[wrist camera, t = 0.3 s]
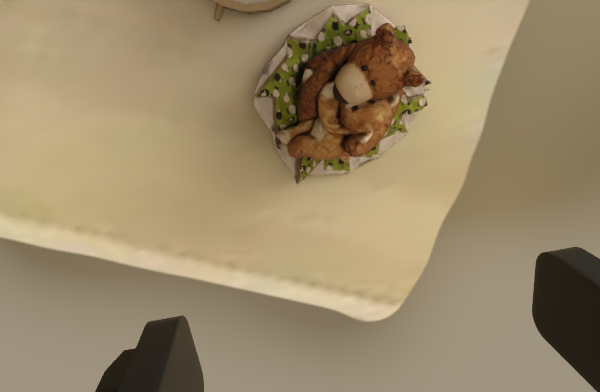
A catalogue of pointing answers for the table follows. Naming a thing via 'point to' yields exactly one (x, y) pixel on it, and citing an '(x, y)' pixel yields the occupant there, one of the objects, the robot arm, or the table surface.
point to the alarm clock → (248, 6)
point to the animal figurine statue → (340, 91)
